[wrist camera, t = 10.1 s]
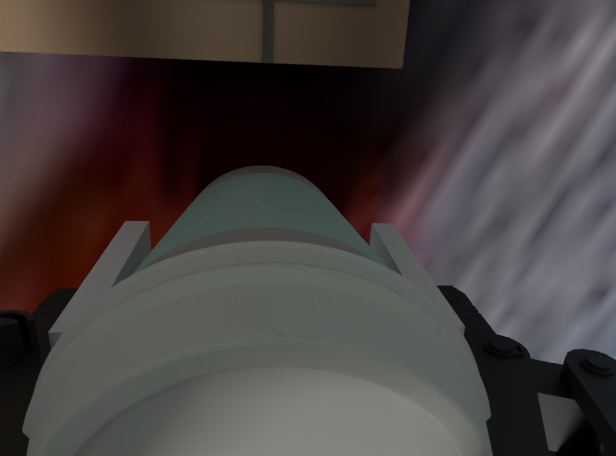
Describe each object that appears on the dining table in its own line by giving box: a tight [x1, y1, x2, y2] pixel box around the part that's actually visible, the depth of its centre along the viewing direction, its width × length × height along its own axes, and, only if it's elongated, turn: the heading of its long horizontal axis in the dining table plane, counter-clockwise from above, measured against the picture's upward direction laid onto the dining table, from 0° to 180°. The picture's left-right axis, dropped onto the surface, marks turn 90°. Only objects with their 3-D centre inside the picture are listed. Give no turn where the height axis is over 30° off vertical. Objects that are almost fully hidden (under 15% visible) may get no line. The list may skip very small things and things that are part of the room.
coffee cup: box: [22, 165, 493, 456], centre depth 13 cm, size 8×9×12 cm
